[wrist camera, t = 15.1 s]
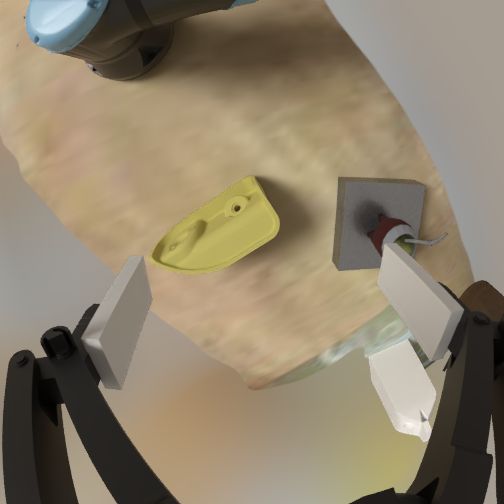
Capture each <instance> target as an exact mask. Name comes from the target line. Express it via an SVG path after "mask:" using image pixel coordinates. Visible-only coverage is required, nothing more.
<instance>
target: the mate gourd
mask: <svg viewBox="0 0 504 504" xmlns="http://www.w3.org/2000/svg"><path fill="white" fill-rule="evenodd" d="M378 220H379V224H378V226H377V227H376V229H375V230H372V231H370V232H367V236H368V237H370V239H371V242H372V243H373V245H374V246H375V249H376V250H377V252H378V253H379V254H380V256H381V257H383V251H384V245H385V243H397V244H398V245H399V246H400V247H401V248H402V249H403V250H404V251H405V252H406V253H408V254H409V255H410V256H411V257H412V256H413V254H414V253H415V251H416V247H417V243H419V244H425V245H427V246H432V245H433V244H436V243H438V242H439V241H441V240H442V239H443V238H444V237H446V236H447V235H448V234H447V233H445V234H443V235H442V236H440V237H439V238H437V239H435V240H433V241H432V240H426V241H424V240H417V237H416V233H415V232H414V230H413V228H412V227H411V226H410V225H409V224H408V223H406V222H405V221H403V220H401V219H396V218H388V217H386V216H383V214H382V213H379V214H378Z"/></svg>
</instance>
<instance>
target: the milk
mask: <svg viewBox="0 0 504 504" xmlns="http://www.w3.org/2000/svg"><path fill="white" fill-rule="evenodd" d="M369 363H370V371H371V379H372V383H373V385H374V387H375V389H376V391H377V393H378V395H379V397H380V399H381V401H382V403H383V405H384V407H385V409H386V411H387V413H388V415H389V418H390V419H391V422H392V424H393V426H394V428H395V429H396V430H397V431H398V432H402V433H406V434H411V435H416V436H419V437H420V438H421V440H422V441H423V442H426V441H428V440H429V438H430V435H431V431H432V430H431V427H430V425H429V421H430V418H431V416H432V413H433V409H434V405H435V400H436V391H435V389H434V387H433V385H432V383H431V381H430V379H429V377H428V375H427V373H426V371H425V369H424V367H423V366H422V364H421V362H420V360H419V358H418V356H417V355H416V353H415V351H414V349H413V347H412V346H411V344H410V342H409V340H408V339H407V340H404V341H402V342H400V343H398V344H396V345H393V346H391V347H389V348H387V349H384V350H382V351H380V352H377V353H375V354H373V355H370V356H369Z"/></svg>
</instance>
